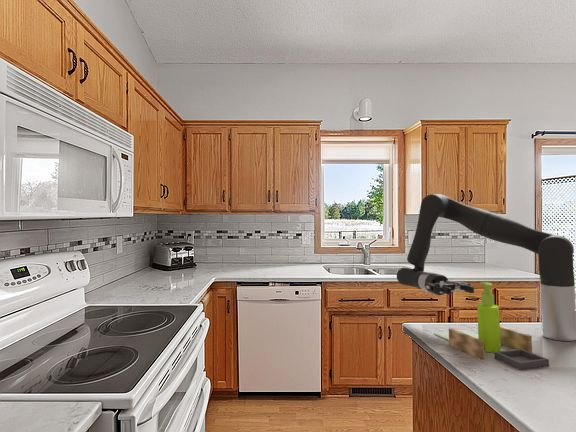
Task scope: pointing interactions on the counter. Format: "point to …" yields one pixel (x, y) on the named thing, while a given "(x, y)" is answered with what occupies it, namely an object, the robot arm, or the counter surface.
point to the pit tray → (521, 359)
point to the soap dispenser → (489, 320)
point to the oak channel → (477, 345)
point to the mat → (446, 334)
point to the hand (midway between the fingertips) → (461, 290)
